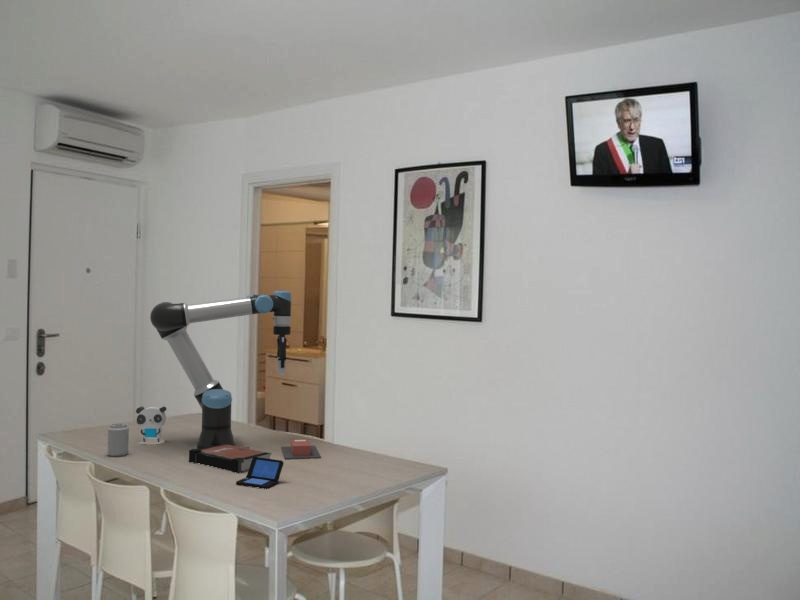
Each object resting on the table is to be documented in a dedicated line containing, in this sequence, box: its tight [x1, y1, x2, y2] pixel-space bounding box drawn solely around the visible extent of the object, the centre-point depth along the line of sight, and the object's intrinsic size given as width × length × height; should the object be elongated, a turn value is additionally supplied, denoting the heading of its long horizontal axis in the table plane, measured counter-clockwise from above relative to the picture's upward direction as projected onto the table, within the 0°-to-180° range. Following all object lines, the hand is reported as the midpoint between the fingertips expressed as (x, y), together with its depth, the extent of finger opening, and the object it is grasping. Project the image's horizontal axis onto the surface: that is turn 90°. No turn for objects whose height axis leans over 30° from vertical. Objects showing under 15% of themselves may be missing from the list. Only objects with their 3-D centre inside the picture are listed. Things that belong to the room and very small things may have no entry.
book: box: [188, 444, 273, 474], centre depth 254 cm, size 26×18×5 cm
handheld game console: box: [235, 457, 284, 490], centre depth 228 cm, size 12×11×7 cm
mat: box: [280, 445, 322, 460], centre depth 272 cm, size 20×14×1 cm
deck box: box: [290, 438, 312, 456], centre depth 270 cm, size 4×7×12 cm
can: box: [107, 422, 130, 457], centre depth 263 cm, size 8×8×12 cm
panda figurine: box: [135, 406, 167, 442], centre depth 286 cm, size 12×11×15 cm
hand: (281, 373), depth 299 cm, fingers open, 13 cm apart
